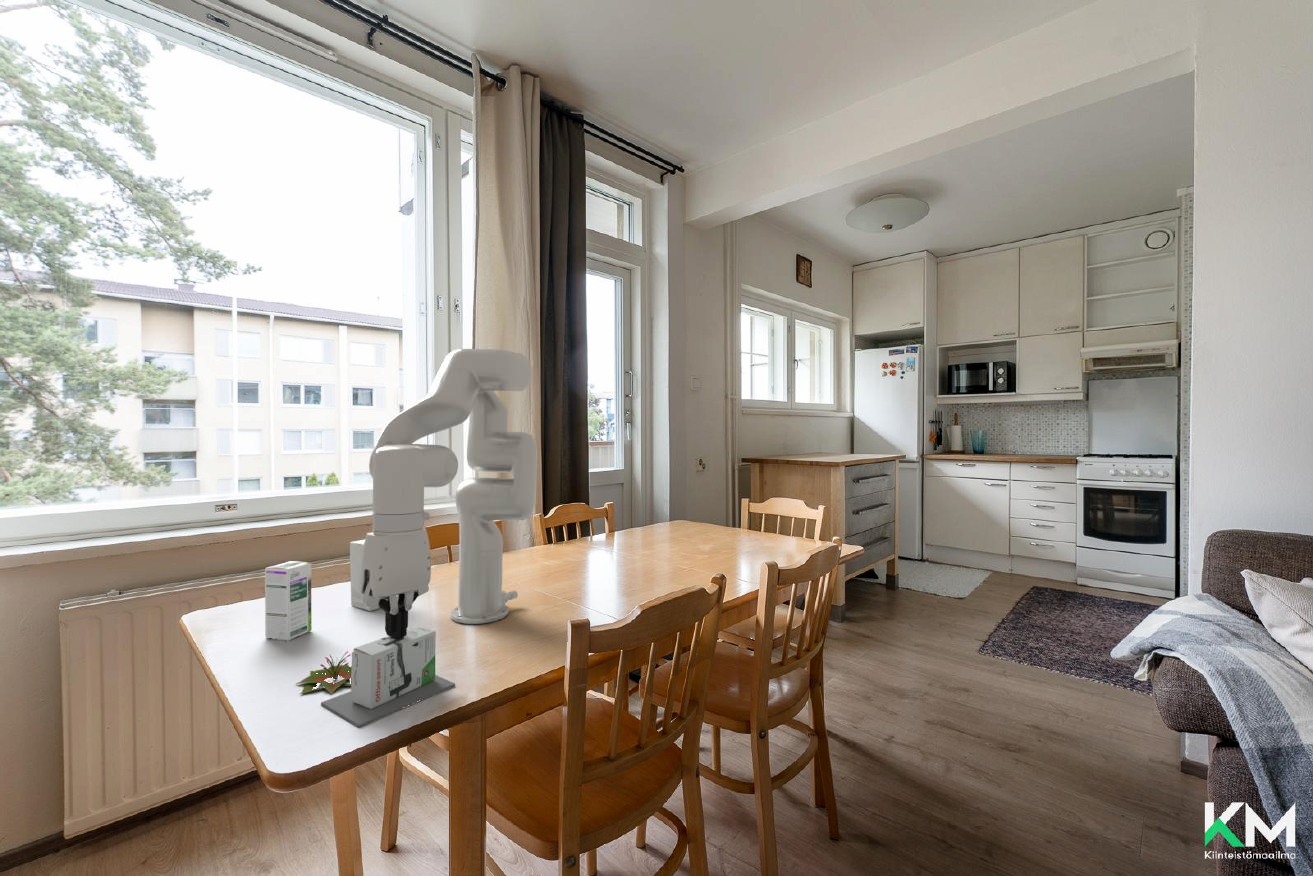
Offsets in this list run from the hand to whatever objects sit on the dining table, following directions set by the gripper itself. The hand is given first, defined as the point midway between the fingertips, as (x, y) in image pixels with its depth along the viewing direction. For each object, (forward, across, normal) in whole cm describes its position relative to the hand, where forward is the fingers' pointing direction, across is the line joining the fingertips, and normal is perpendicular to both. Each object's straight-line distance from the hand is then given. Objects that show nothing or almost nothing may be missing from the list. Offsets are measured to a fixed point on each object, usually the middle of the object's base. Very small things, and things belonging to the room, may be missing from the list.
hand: (396, 635), depth 90 cm
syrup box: (+9, -1, -40) cm, 41 cm away
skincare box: (+9, -21, -45) cm, 51 cm away
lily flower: (+10, +3, -12) cm, 16 cm away
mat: (+9, +1, 0) cm, 9 cm away
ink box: (+4, -6, 0) cm, 7 cm away
